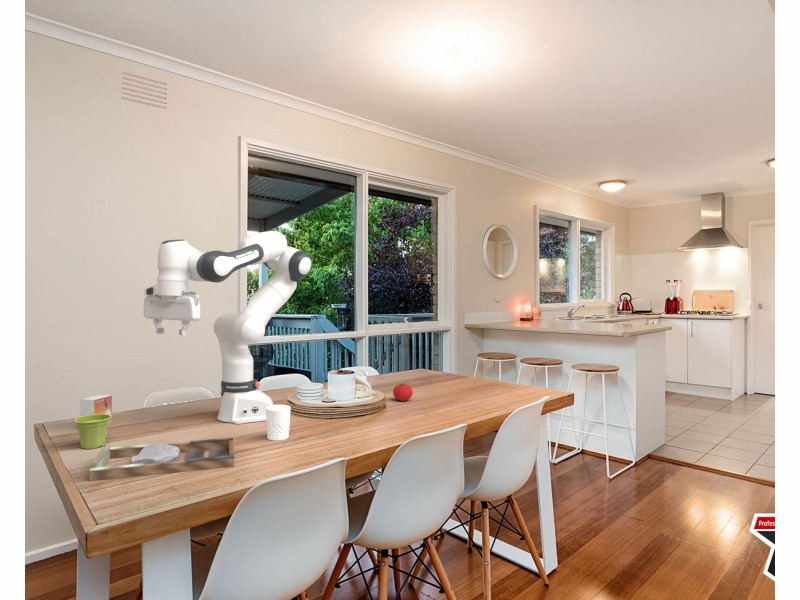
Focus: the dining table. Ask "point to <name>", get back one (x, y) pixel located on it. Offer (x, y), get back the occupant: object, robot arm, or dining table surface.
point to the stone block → (156, 454)
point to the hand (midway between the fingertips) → (171, 334)
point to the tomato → (402, 392)
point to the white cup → (278, 422)
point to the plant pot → (92, 430)
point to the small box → (96, 406)
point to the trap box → (189, 464)
